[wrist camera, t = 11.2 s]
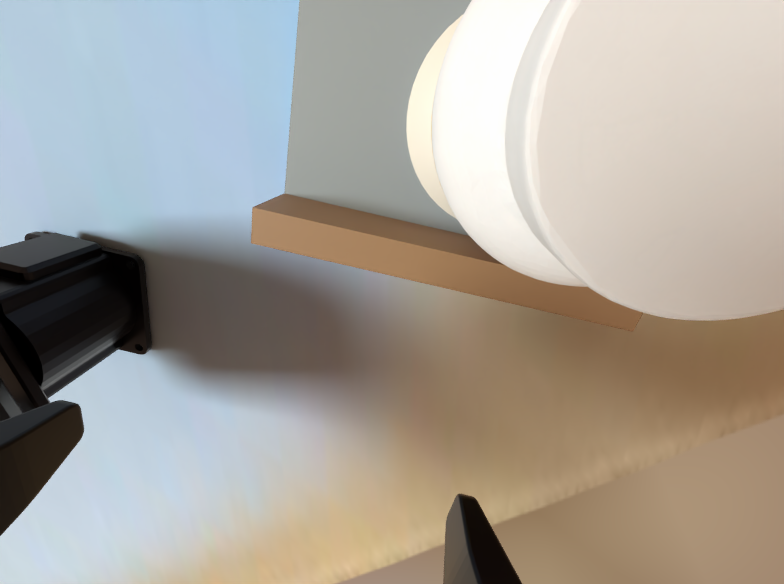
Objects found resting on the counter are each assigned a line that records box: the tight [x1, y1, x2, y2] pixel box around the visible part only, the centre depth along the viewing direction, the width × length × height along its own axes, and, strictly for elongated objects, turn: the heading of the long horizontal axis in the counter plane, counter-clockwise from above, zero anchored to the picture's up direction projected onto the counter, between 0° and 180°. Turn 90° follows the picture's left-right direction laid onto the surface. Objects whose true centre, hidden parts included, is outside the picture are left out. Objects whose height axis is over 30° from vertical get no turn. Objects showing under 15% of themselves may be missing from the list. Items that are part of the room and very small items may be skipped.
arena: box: [251, 0, 643, 331], centre depth 14 cm, size 14×16×4 cm
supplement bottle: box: [431, 0, 784, 321], centre depth 9 cm, size 7×7×13 cm
